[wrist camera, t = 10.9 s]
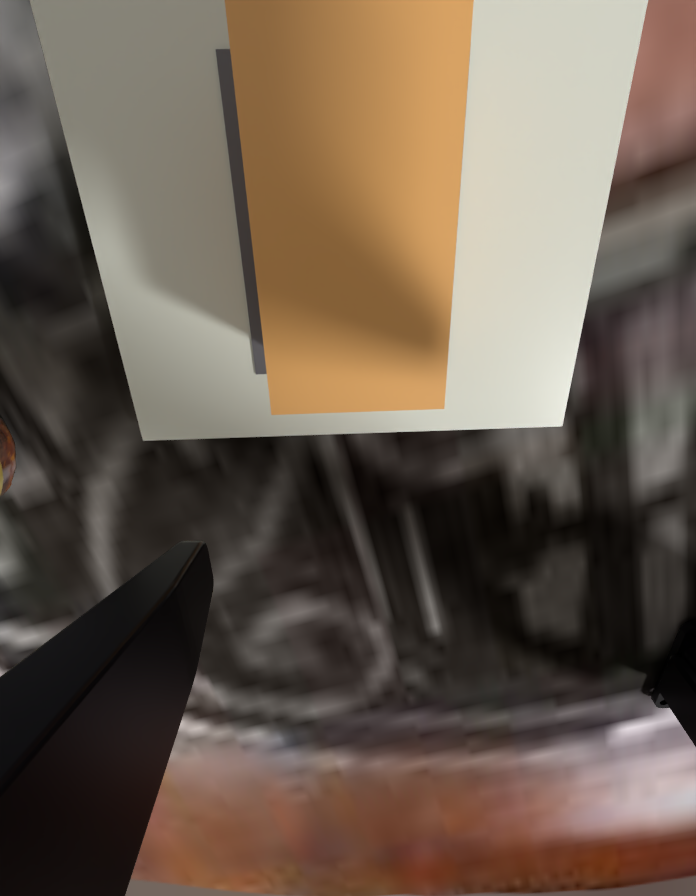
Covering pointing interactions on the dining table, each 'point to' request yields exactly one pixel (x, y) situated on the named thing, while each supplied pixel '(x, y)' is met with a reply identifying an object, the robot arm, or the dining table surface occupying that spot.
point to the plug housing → (352, 193)
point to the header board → (228, 227)
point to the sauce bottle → (6, 458)
